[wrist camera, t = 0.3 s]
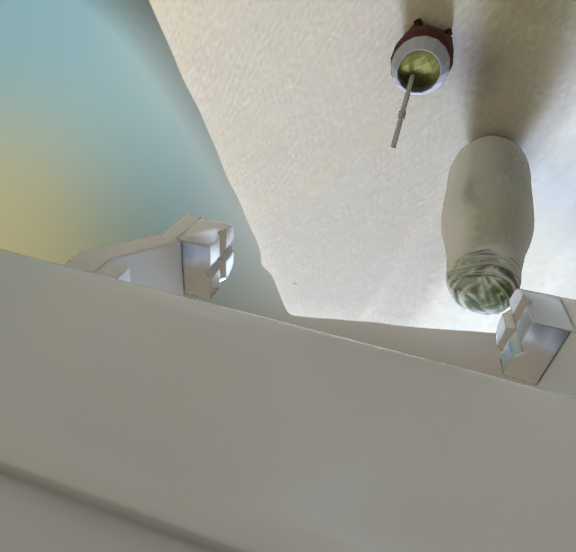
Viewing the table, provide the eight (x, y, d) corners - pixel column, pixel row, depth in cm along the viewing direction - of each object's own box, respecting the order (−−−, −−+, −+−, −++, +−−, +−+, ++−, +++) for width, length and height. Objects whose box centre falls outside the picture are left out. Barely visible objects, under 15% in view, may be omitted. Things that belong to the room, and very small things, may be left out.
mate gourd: (444, -1, 49) (430, 55, 40) (466, 62, 53) (458, 125, 44) (385, 32, 53) (361, 89, 44) (410, 87, 57) (391, 149, 48)
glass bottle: (544, 156, 58) (559, 315, 42) (478, 193, 66) (468, 340, 49) (500, 107, 56) (498, 258, 39) (437, 152, 63) (412, 294, 46)
